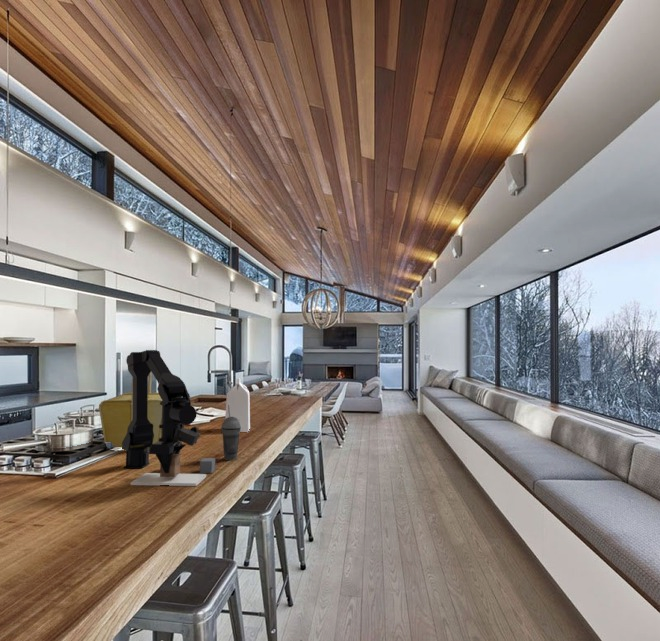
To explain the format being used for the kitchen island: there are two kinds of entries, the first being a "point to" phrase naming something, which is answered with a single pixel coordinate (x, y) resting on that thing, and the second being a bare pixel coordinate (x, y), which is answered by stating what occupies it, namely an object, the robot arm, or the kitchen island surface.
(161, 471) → the walnut block
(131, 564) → the kitchen island surface
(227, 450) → the beverage cup
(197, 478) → the cream tile
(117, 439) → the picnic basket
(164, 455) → the robot arm
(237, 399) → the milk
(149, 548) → the kitchen island surface
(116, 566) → the kitchen island surface
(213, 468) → the charcoal block
